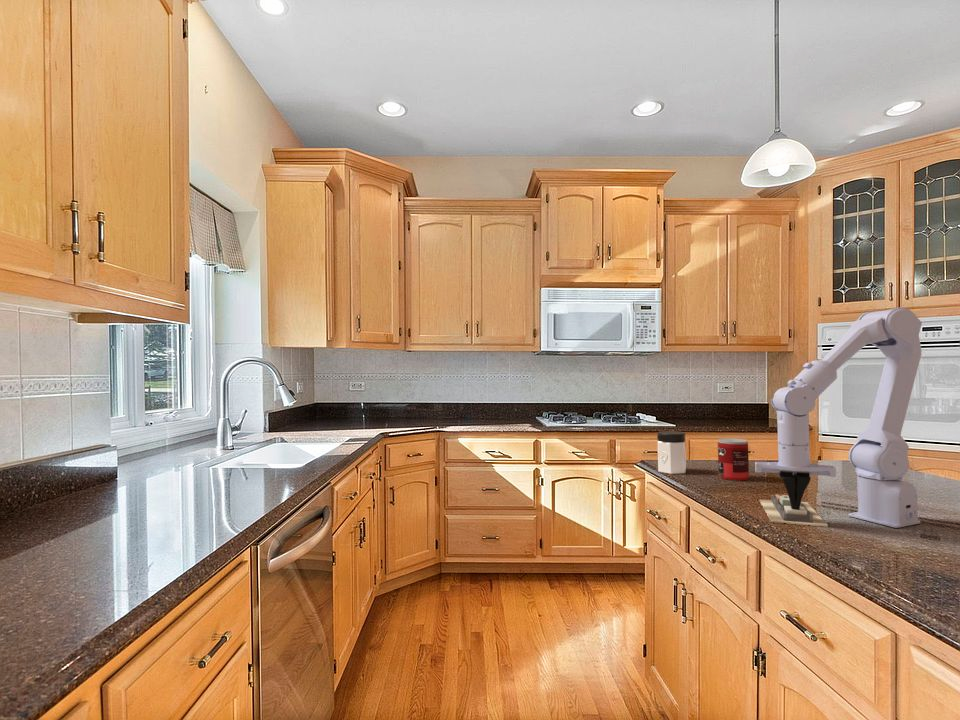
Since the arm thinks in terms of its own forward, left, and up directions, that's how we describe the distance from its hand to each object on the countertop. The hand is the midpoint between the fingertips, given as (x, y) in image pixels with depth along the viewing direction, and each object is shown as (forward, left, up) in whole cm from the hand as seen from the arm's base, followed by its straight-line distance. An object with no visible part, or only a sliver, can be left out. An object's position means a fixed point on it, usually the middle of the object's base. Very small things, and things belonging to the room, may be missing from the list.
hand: (795, 508), depth 110 cm
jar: (+50, -12, -3) cm, 52 cm away
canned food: (+35, -21, -3) cm, 41 cm away
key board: (+4, -4, -2) cm, 6 cm away
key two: (+4, -4, -1) cm, 6 cm away
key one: (0, 0, -1) cm, 1 cm away
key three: (+8, -8, -2) cm, 11 cm away
